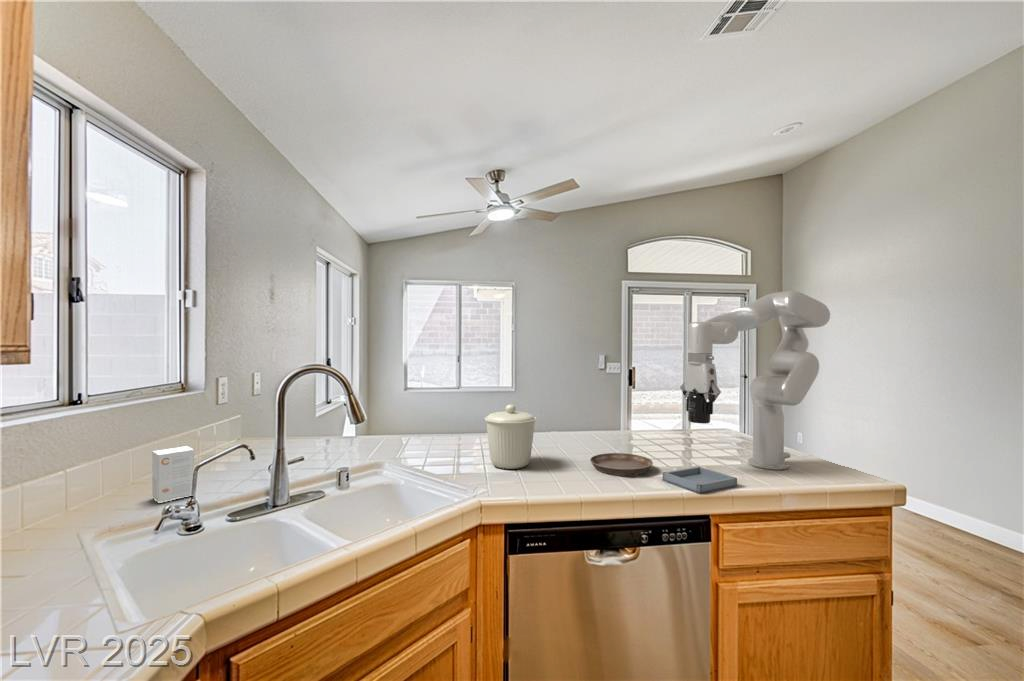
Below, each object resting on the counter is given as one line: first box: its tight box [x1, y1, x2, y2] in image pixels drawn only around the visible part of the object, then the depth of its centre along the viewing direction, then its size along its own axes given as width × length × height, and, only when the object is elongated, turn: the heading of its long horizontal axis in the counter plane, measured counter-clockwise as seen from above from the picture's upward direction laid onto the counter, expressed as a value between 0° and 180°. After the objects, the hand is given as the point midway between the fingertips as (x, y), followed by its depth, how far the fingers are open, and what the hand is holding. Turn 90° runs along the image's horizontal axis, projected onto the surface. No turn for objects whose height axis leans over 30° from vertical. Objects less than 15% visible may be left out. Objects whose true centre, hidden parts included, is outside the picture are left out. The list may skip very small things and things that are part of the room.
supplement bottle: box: [687, 388, 711, 424], centre depth 152 cm, size 7×7×12 cm
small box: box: [151, 445, 195, 501], centre depth 123 cm, size 8×6×13 cm
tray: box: [662, 466, 738, 495], centre depth 139 cm, size 16×14×2 cm
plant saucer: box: [589, 452, 654, 476], centre depth 155 cm, size 21×21×3 cm
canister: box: [484, 404, 538, 470], centre depth 158 cm, size 18×18×21 cm
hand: (699, 412), depth 152 cm, fingers closed on supplement bottle, 6 cm apart
